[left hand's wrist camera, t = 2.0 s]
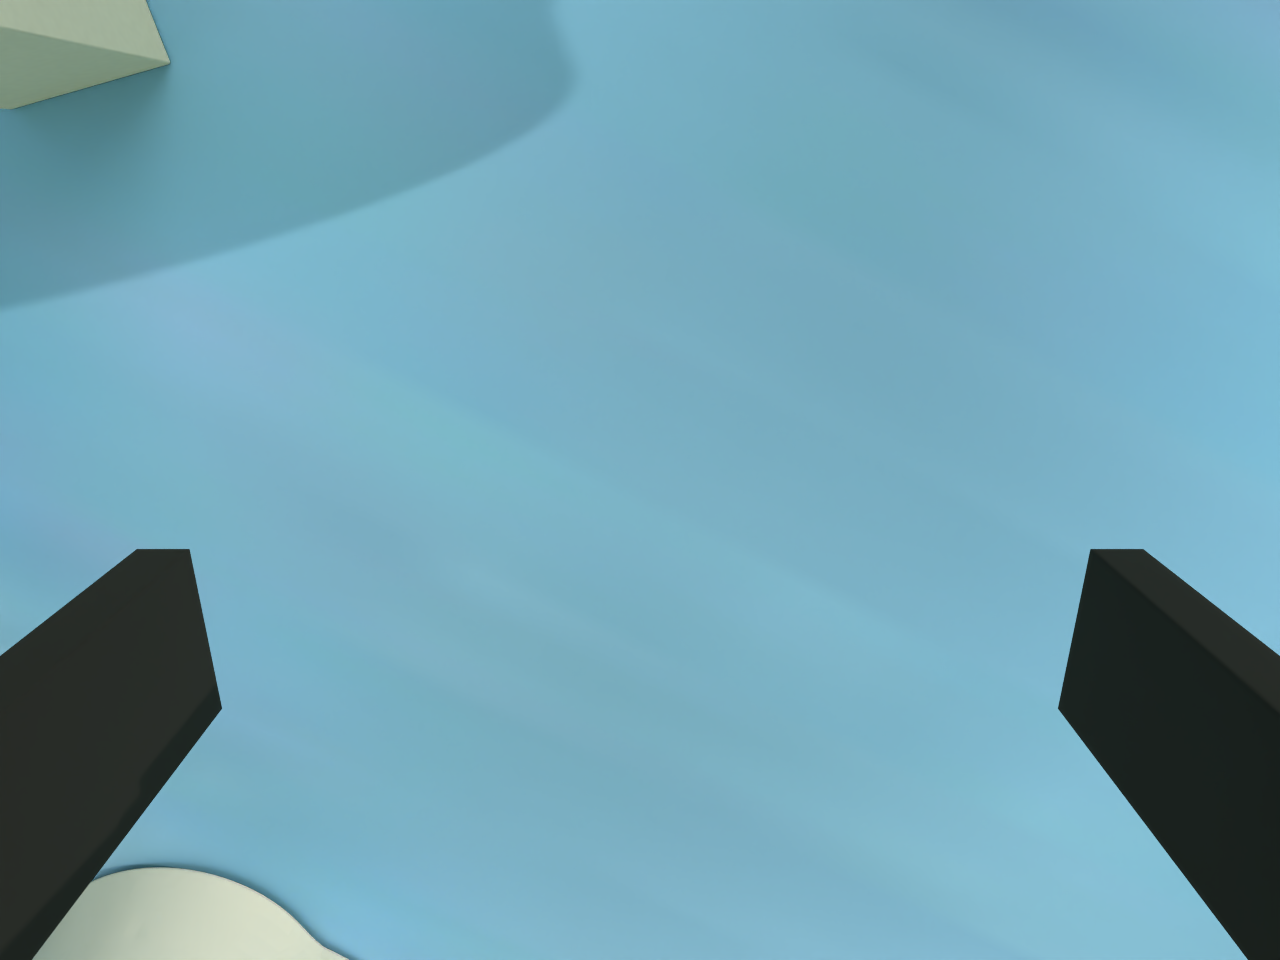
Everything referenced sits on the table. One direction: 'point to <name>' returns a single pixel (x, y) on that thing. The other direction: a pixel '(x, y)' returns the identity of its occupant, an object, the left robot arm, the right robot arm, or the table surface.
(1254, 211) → the table surface
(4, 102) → the box
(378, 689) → the table surface
